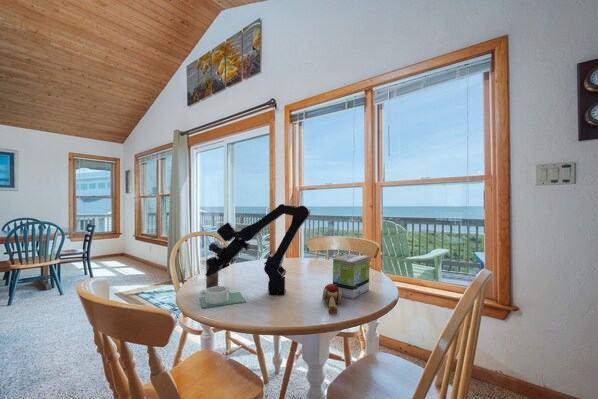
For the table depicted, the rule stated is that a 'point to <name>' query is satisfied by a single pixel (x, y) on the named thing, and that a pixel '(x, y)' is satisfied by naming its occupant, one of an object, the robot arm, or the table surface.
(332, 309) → the kendama
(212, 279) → the walnut peg
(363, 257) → the tea box
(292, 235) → the robot arm
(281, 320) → the table surface
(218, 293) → the putting mat
